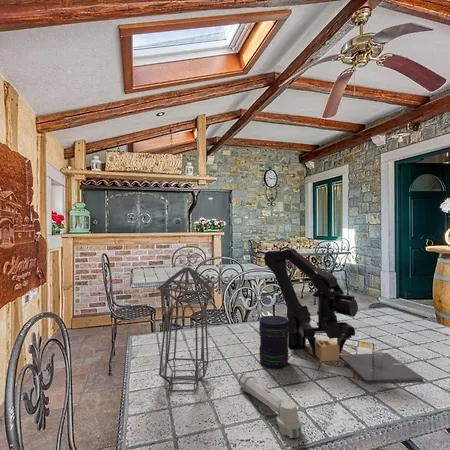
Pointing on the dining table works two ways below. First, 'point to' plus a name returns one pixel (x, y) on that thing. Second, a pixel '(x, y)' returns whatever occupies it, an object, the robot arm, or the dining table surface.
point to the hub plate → (379, 368)
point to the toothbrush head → (274, 406)
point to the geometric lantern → (209, 289)
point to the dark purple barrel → (273, 342)
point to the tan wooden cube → (327, 350)
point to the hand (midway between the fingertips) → (326, 354)
